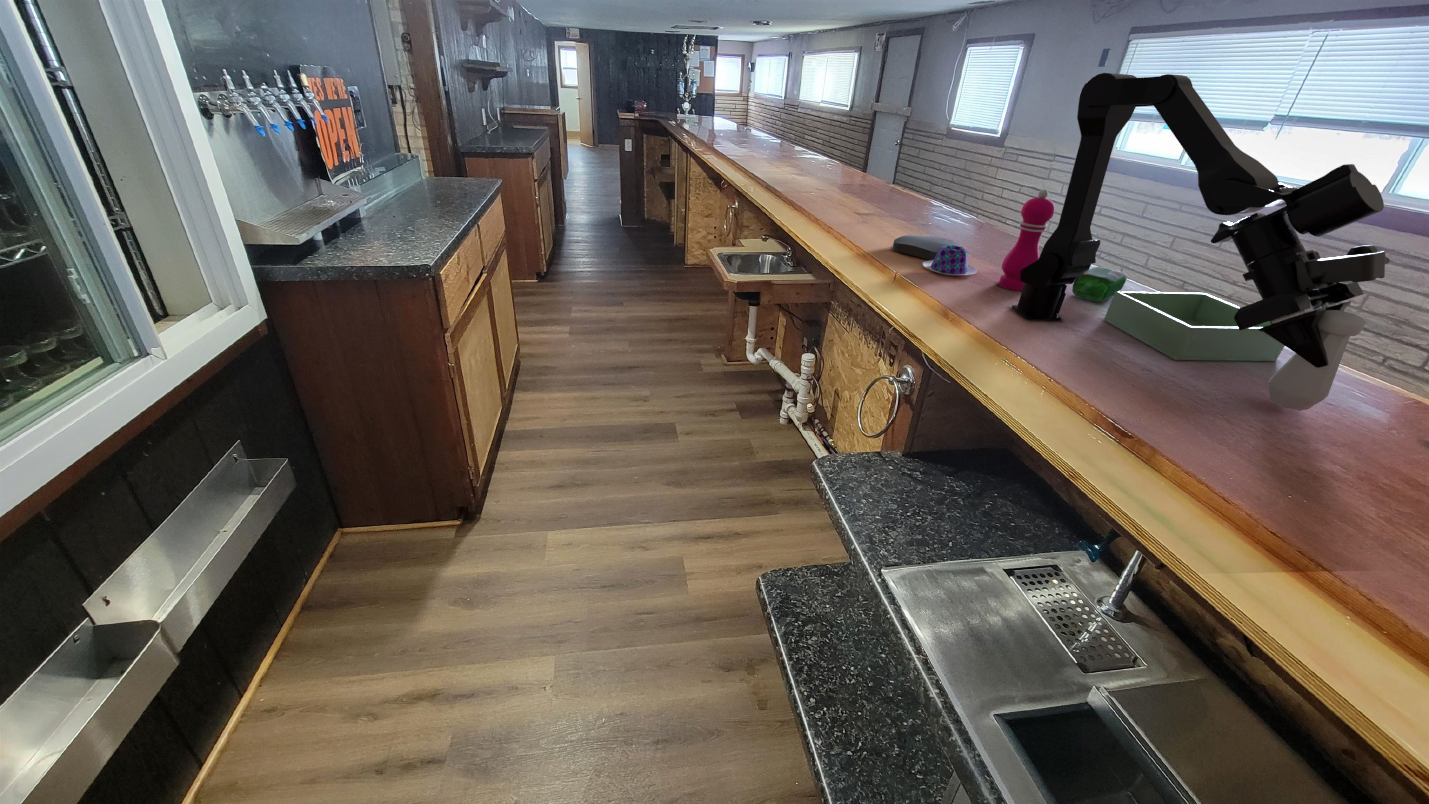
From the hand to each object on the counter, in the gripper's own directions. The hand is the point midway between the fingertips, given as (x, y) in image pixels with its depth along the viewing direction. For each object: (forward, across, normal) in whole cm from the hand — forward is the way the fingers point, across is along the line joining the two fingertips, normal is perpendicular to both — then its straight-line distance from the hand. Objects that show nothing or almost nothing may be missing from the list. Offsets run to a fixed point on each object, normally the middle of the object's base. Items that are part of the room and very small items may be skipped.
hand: (1329, 364), depth 72 cm
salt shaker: (+4, 0, +6) cm, 7 cm away
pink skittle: (-32, +11, +44) cm, 56 cm away
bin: (-10, +15, +21) cm, 28 cm away
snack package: (-25, +23, +37) cm, 50 cm away
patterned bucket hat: (-42, +6, +54) cm, 69 cm away
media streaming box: (-52, +14, +64) cm, 84 cm away
